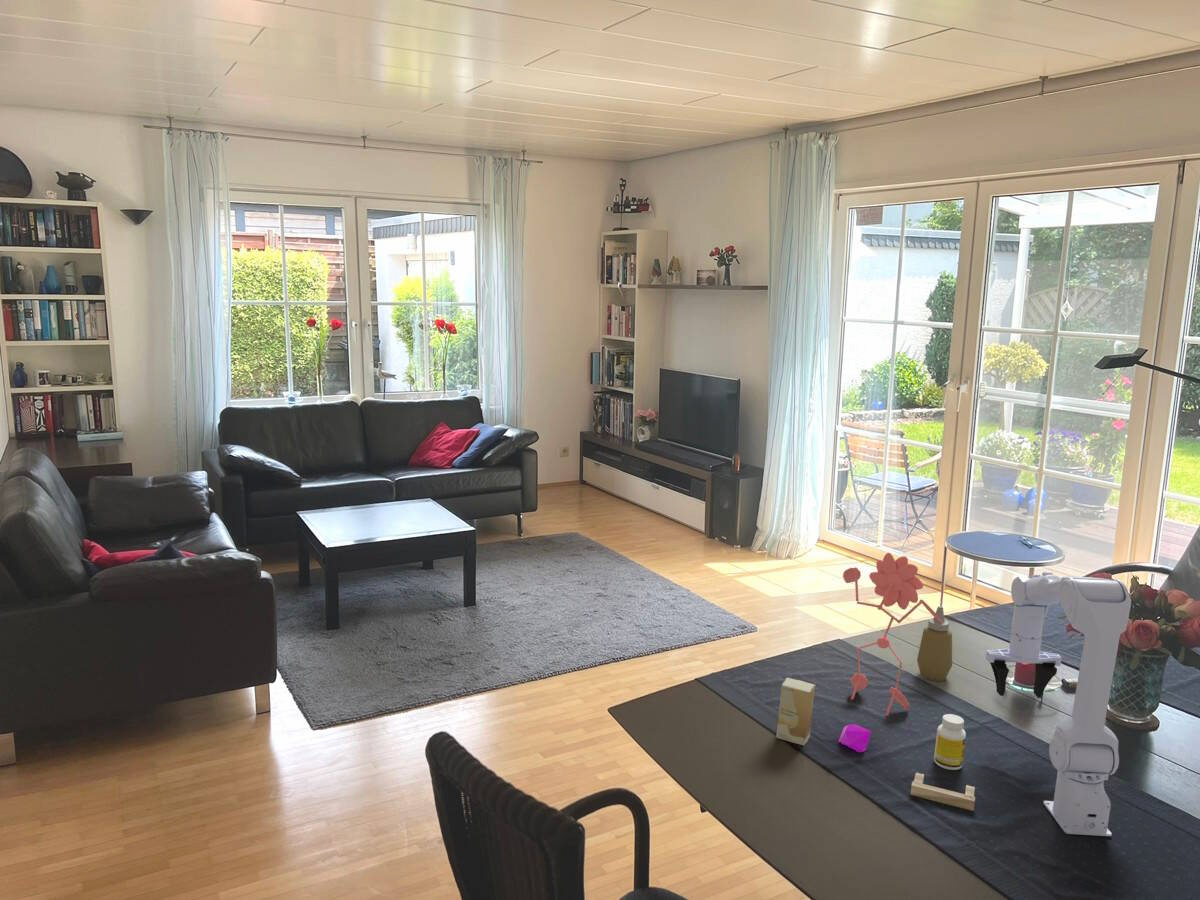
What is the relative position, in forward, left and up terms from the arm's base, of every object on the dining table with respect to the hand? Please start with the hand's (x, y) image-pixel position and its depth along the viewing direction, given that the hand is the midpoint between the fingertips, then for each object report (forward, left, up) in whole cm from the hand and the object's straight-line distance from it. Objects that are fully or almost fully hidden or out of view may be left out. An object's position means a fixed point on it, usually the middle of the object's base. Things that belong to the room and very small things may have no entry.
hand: (1018, 694), depth 185 cm
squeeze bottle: (+29, +8, -10) cm, 32 cm away
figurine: (+15, +23, -10) cm, 29 cm away
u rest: (-24, +22, -10) cm, 34 cm away
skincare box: (-5, +47, -10) cm, 48 cm away
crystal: (-7, +35, -10) cm, 37 cm away
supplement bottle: (-12, +17, -10) cm, 23 cm away
